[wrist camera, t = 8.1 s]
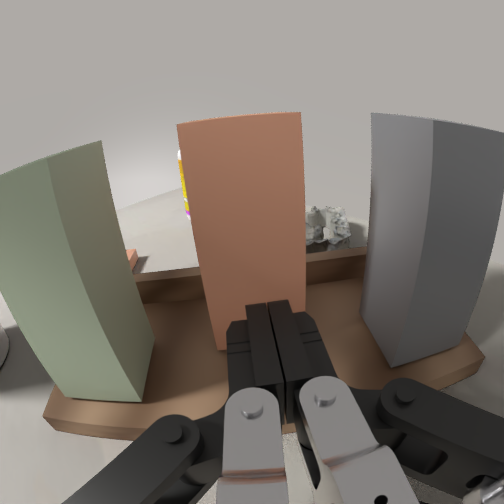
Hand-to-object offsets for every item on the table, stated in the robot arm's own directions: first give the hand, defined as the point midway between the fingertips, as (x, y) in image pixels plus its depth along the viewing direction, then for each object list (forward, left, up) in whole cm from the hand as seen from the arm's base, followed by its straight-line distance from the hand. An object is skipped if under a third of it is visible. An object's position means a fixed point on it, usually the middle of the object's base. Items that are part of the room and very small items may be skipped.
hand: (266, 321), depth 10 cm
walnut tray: (0, +5, -7) cm, 9 cm away
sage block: (-9, +3, -5) cm, 11 cm away
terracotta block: (0, +7, -5) cm, 8 cm away
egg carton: (+7, +19, -7) cm, 22 cm away
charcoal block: (+9, +3, -5) cm, 11 cm away
